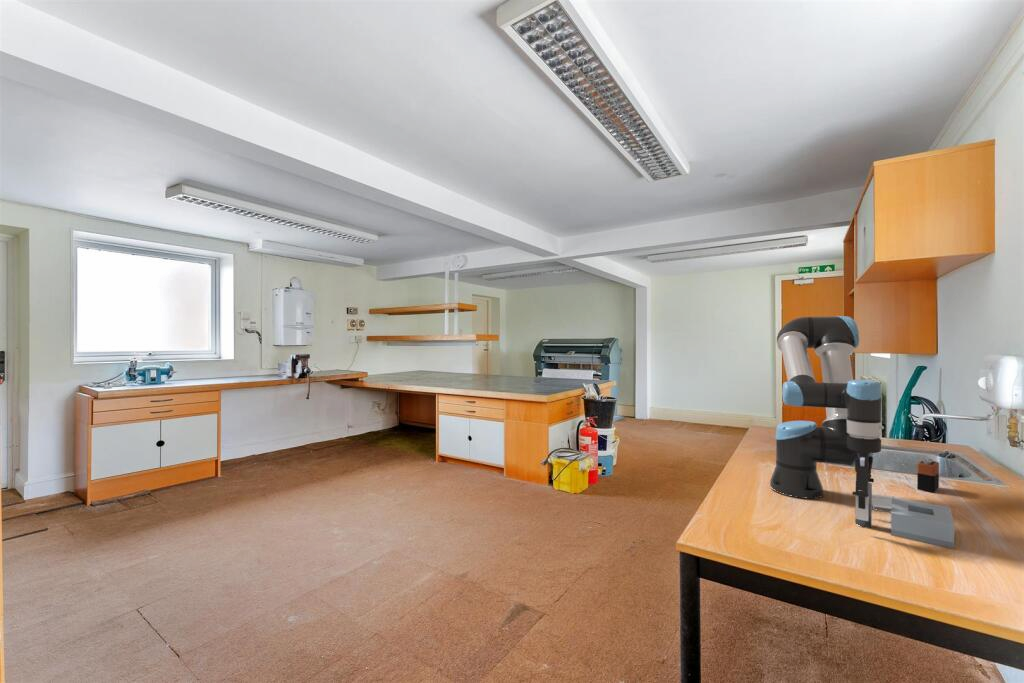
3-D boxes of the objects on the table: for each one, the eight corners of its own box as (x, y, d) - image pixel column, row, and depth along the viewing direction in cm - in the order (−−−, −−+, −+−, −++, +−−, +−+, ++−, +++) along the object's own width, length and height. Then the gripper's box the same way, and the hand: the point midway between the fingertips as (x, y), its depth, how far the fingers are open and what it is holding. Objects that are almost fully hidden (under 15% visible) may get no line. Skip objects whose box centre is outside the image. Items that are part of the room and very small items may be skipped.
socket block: (891, 535, 120) (891, 512, 120) (891, 517, 131) (891, 497, 131) (954, 548, 112) (954, 524, 112) (949, 529, 123) (949, 507, 123)
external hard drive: (873, 511, 137) (863, 497, 148) (908, 516, 133) (895, 501, 144) (873, 506, 137) (863, 492, 148) (908, 510, 133) (895, 496, 144)
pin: (854, 525, 126) (855, 483, 126) (855, 521, 129) (856, 479, 129) (871, 529, 124) (871, 485, 124) (871, 524, 127) (872, 482, 126)
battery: (916, 489, 152) (917, 460, 152) (922, 485, 156) (922, 456, 156) (934, 493, 149) (934, 463, 148) (939, 488, 153) (939, 459, 152)
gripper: (879, 447, 114) (879, 530, 114) (882, 429, 133) (882, 501, 133) (842, 442, 119) (842, 523, 119) (850, 426, 138) (850, 495, 138)
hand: (863, 511), depth 126 cm, fingers open, 13 cm apart
